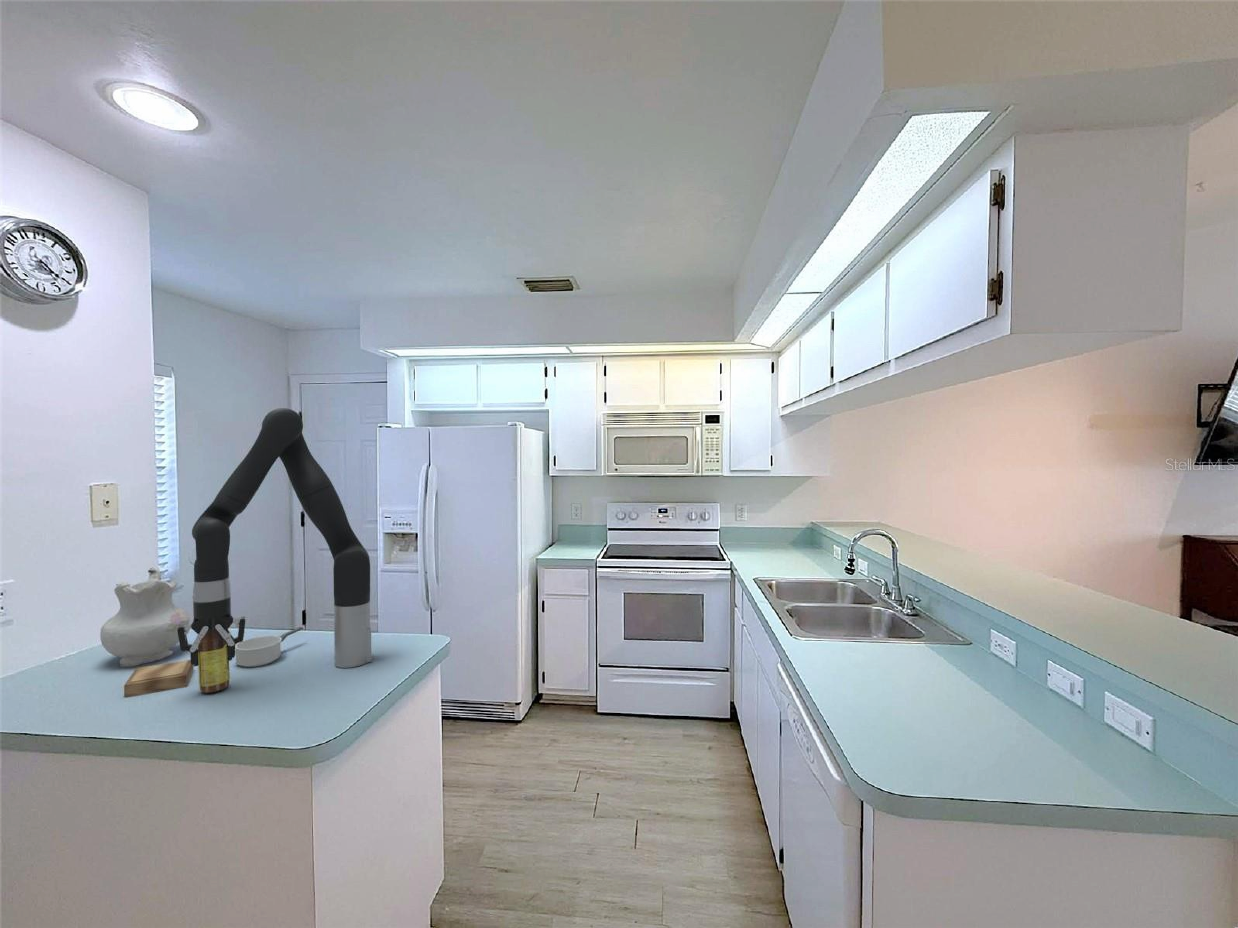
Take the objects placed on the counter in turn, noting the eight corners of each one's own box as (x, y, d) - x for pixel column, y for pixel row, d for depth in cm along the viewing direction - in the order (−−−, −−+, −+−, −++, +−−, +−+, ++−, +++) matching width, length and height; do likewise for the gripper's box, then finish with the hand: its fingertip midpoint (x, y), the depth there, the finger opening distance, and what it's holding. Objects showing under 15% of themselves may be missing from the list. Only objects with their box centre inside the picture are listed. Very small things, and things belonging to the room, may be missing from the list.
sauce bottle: (235, 685, 138) (233, 608, 137) (208, 696, 132) (206, 615, 131) (220, 681, 140) (218, 605, 140) (192, 690, 135) (191, 612, 134)
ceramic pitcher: (106, 657, 160) (95, 575, 158) (189, 637, 173) (180, 561, 171) (103, 681, 144) (91, 590, 142) (195, 657, 157) (185, 573, 155)
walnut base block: (193, 669, 148) (193, 658, 148) (186, 686, 138) (186, 673, 138) (136, 679, 142) (135, 667, 142) (124, 697, 132) (124, 684, 132)
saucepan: (316, 646, 166) (316, 629, 166) (254, 671, 148) (254, 651, 147) (288, 642, 170) (288, 624, 170) (224, 666, 151) (224, 646, 151)
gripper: (247, 589, 142) (248, 652, 143) (178, 597, 135) (179, 663, 135) (245, 596, 136) (247, 661, 136) (172, 604, 128) (174, 674, 129)
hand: (213, 662), depth 136 cm, fingers closed on sauce bottle, 6 cm apart
